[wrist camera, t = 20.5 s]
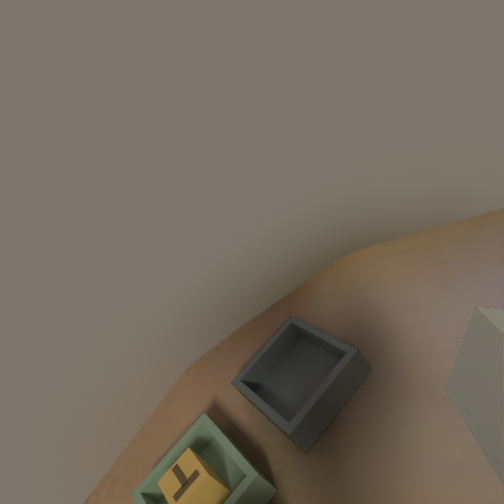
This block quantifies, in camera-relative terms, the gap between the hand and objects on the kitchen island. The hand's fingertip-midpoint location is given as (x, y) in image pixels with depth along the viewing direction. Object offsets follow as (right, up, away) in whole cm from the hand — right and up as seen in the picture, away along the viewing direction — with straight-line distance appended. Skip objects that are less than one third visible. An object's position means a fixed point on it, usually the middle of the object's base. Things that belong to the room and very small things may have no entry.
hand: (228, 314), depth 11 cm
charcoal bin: (+6, -12, +32) cm, 35 cm away
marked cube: (-4, -21, +28) cm, 35 cm away
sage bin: (-3, -22, +28) cm, 36 cm away
